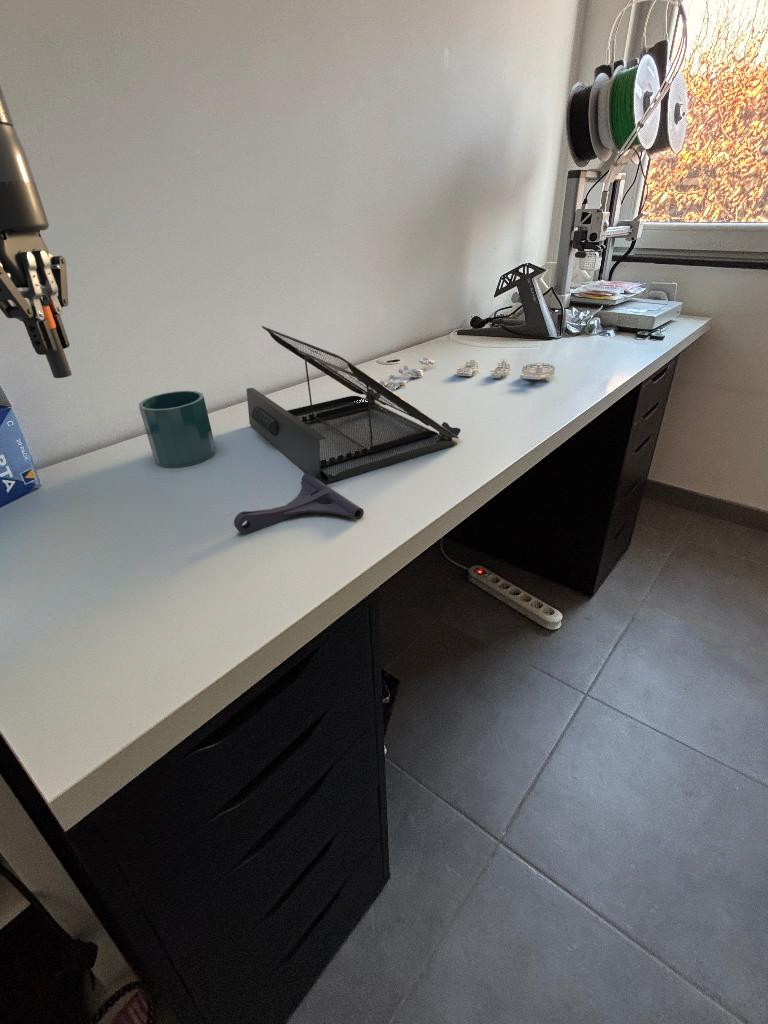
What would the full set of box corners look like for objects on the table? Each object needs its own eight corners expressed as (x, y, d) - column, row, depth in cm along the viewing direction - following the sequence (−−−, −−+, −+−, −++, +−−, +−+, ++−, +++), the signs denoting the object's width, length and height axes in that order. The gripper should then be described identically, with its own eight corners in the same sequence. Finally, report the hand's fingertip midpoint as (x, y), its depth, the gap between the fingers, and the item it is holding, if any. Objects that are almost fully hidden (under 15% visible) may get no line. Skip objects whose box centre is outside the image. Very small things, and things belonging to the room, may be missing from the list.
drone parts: (528, 408, 105) (529, 393, 104) (377, 393, 121) (375, 379, 120) (558, 373, 122) (559, 359, 120) (421, 364, 138) (421, 351, 136)
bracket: (218, 514, 74) (213, 496, 72) (311, 481, 81) (309, 465, 79) (261, 560, 63) (257, 540, 62) (364, 518, 70) (362, 499, 69)
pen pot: (146, 469, 88) (128, 411, 84) (167, 445, 97) (153, 392, 92) (206, 466, 88) (192, 408, 83) (222, 442, 97) (210, 389, 92)
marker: (49, 379, 64) (23, 308, 60) (59, 374, 66) (34, 305, 62) (66, 378, 64) (42, 307, 60) (76, 373, 66) (52, 304, 62)
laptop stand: (463, 442, 90) (465, 332, 81) (315, 487, 79) (298, 364, 70) (369, 397, 116) (362, 309, 107) (246, 426, 104) (227, 330, 95)
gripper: (1, 185, 61) (55, 340, 69) (-96, 179, 49) (-16, 367, 57) (64, 181, 61) (111, 337, 69) (-17, 174, 48) (52, 364, 57)
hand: (53, 350), depth 63 cm, fingers closed on marker, 2 cm apart
